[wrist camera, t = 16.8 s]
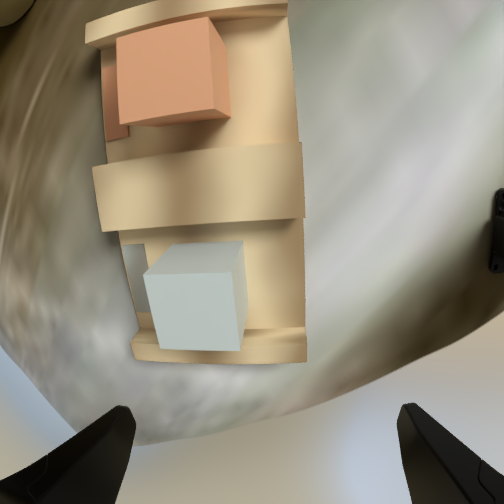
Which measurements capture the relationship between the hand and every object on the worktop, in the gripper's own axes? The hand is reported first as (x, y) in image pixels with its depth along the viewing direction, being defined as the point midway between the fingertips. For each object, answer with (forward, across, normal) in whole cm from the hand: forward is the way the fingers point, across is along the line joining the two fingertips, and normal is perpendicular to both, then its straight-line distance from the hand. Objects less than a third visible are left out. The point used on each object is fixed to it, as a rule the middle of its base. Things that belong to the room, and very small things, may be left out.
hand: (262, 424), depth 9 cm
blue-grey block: (+12, +4, 0) cm, 13 cm away
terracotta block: (+12, +4, -12) cm, 17 cm away
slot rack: (+13, +4, -6) cm, 15 cm away
